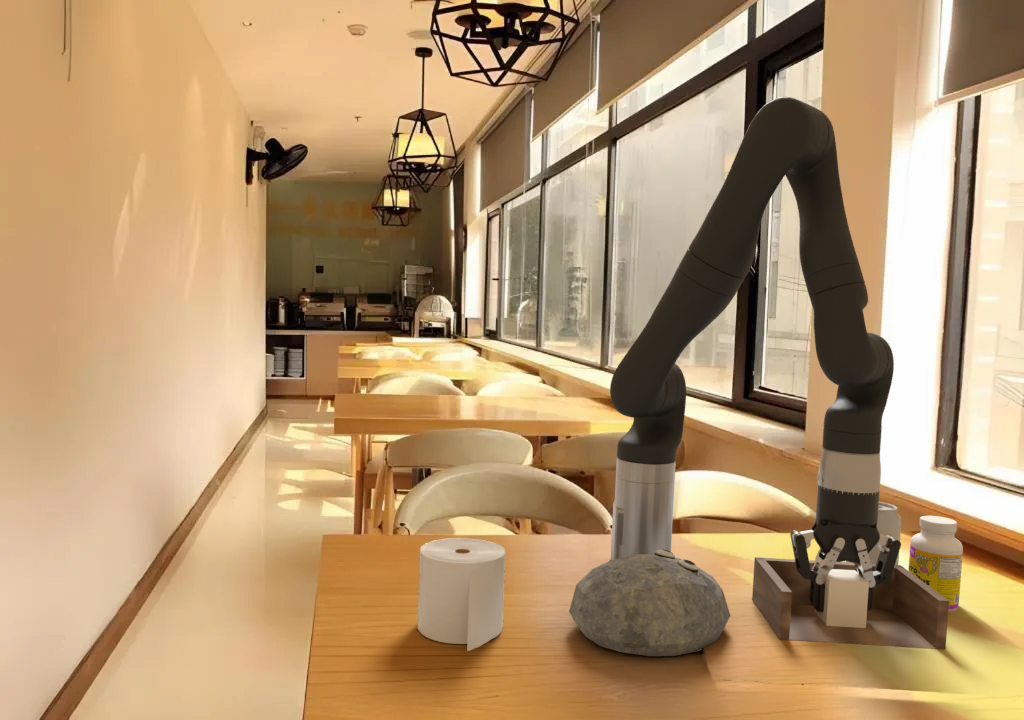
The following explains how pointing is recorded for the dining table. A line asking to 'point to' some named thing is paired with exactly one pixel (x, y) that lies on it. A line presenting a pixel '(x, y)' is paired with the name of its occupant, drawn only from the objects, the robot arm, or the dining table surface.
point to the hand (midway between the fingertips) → (840, 610)
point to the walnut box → (891, 621)
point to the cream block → (845, 599)
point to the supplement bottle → (938, 557)
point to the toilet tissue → (461, 591)
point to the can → (886, 528)
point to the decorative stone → (650, 605)
